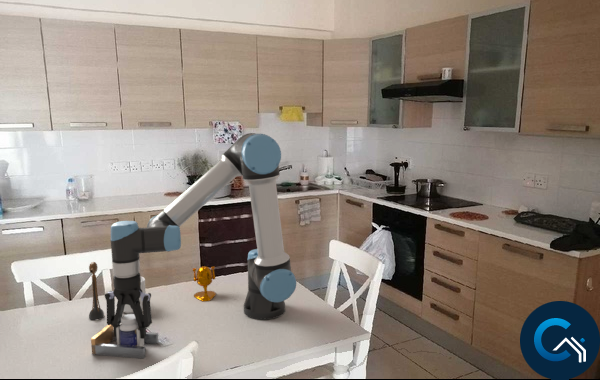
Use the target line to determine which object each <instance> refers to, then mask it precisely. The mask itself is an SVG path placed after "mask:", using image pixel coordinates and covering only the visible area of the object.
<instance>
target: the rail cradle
mask: <svg viewBox="0 0 600 380" xmlns="http://www.w3.org/2000/svg"><path fill="white" fill-rule="evenodd" d="M112 341H113V342H114V341H116V342H117V337H115V336H114V327H113V326H112V325H108V324H107V325H106V326H105V327H103V328H102V329H101V330H100V331H98V332H97V333H96V334H95V335H93V336H92V337H91V338H90V342H91V343H90V344H91V355H92V354H96V355H95V356H105V357H118V358H119V357H121V358H129V359H131V358H132V359H133V358H134V359H145V358H146V347H145V346H143V347H140V346H127V345H117V344H113V343H111V342H112ZM158 343H159V332H155V331H154V332H153V331H146V337H145V338H144V344H158Z"/></svg>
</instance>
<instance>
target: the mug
mask: <svg viewBox="0 0 600 380" xmlns="http://www.w3.org/2000/svg"><path fill="white" fill-rule="evenodd" d="M141 290H142V292H143V293H146V291H147V290H146V278H145V277H144V276H141ZM146 294H147V293H146ZM139 300H140V306H141V309H142V311H143V306H142V302H143V301H142V298H141V297H140V298H139ZM124 313H125V314H134V312H133V309H131V307H130V305H128V304H125V307H124V311H123V314H124Z"/></svg>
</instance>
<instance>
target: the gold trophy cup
mask: <svg viewBox="0 0 600 380" xmlns="http://www.w3.org/2000/svg"><path fill="white" fill-rule="evenodd" d="M215 268H216V267H215V266H211V268H210V267H209V266H205V265H204V266H201V267H199V268H198V270H197V268H196V267H195V268H192V273H193V280H192V281H194V282H196V284H197V285H199V286H200V287H202V288H203V291H202V290H201V291H198V292H196V293H194V294H193V298H195V299H196V300H199V301H200V302H204V303H206V302H210V301H212V300H213V299H214V298H215V297H216V295H217V294H216V292H215V291H214V290H208V286H210V285H211V284H212V283H213V280H216V275H215ZM196 271H197V272H196Z"/></svg>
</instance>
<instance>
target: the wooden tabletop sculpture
mask: <svg viewBox="0 0 600 380" xmlns="http://www.w3.org/2000/svg"><path fill="white" fill-rule="evenodd" d="M88 270H89V273H91V274H92V275H91V284H92V285H91V286H92V306H91V307H92V308H91V310H90V312H89V314H88V319H89V320H91V321H97V320H101V319H103V318H104V316H105V312H104V310H103V309H102V307H101V305H100V301H99V296H98V294H99V293H98V283H97V282H98V281H97V275H96V273H97V272H98V264H97V262H95V261H92V262H90V263H89V265H88Z"/></svg>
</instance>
